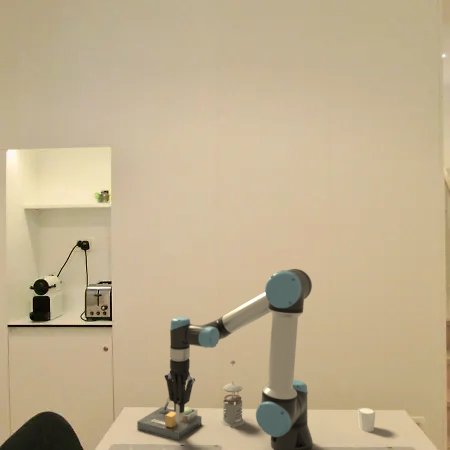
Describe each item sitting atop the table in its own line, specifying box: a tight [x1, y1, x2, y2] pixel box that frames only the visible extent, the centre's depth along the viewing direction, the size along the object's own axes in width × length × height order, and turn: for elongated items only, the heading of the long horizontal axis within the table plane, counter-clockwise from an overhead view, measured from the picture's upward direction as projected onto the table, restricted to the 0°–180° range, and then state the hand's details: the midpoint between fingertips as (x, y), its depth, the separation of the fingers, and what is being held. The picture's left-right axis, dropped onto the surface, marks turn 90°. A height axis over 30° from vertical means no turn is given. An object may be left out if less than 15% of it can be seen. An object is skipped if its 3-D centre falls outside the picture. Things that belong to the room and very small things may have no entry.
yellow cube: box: [165, 412, 178, 428], centre depth 156 cm, size 3×4×4 cm
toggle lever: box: [163, 392, 171, 411], centre depth 167 cm, size 2×2×10 cm
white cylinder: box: [356, 406, 376, 433], centre depth 160 cm, size 7×7×7 cm
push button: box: [183, 406, 193, 415], centre depth 163 cm, size 5×5×3 cm
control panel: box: [136, 406, 202, 442], centre depth 162 cm, size 20×16×6 cm
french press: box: [220, 360, 245, 428], centre depth 168 cm, size 10×12×25 cm
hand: (179, 420), depth 154 cm, fingers closed
